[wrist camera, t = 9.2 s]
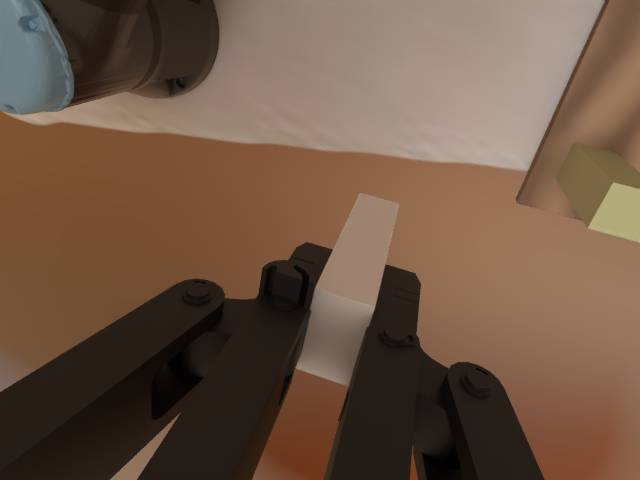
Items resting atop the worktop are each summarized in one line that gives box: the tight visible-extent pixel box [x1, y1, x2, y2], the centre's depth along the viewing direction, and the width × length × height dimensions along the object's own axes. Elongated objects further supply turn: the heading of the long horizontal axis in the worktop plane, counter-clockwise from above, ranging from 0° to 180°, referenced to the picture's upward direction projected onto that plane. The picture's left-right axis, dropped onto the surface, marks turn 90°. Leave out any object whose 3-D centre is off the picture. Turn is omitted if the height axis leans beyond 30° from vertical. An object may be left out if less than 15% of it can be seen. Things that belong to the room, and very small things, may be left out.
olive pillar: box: [556, 142, 640, 242], centre depth 40 cm, size 4×4×12 cm
